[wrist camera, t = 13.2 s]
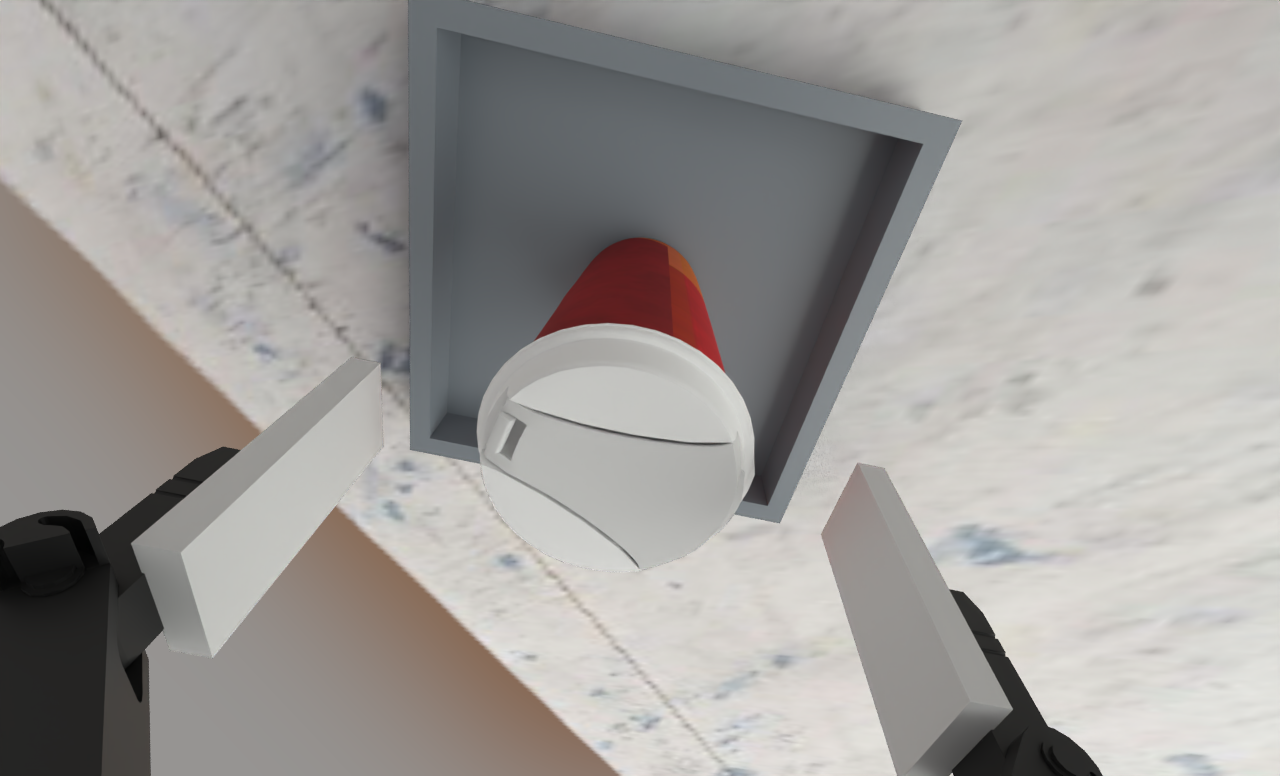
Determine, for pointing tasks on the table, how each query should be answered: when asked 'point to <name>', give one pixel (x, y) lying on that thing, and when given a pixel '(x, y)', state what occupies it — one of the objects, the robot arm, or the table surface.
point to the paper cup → (619, 420)
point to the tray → (647, 212)
